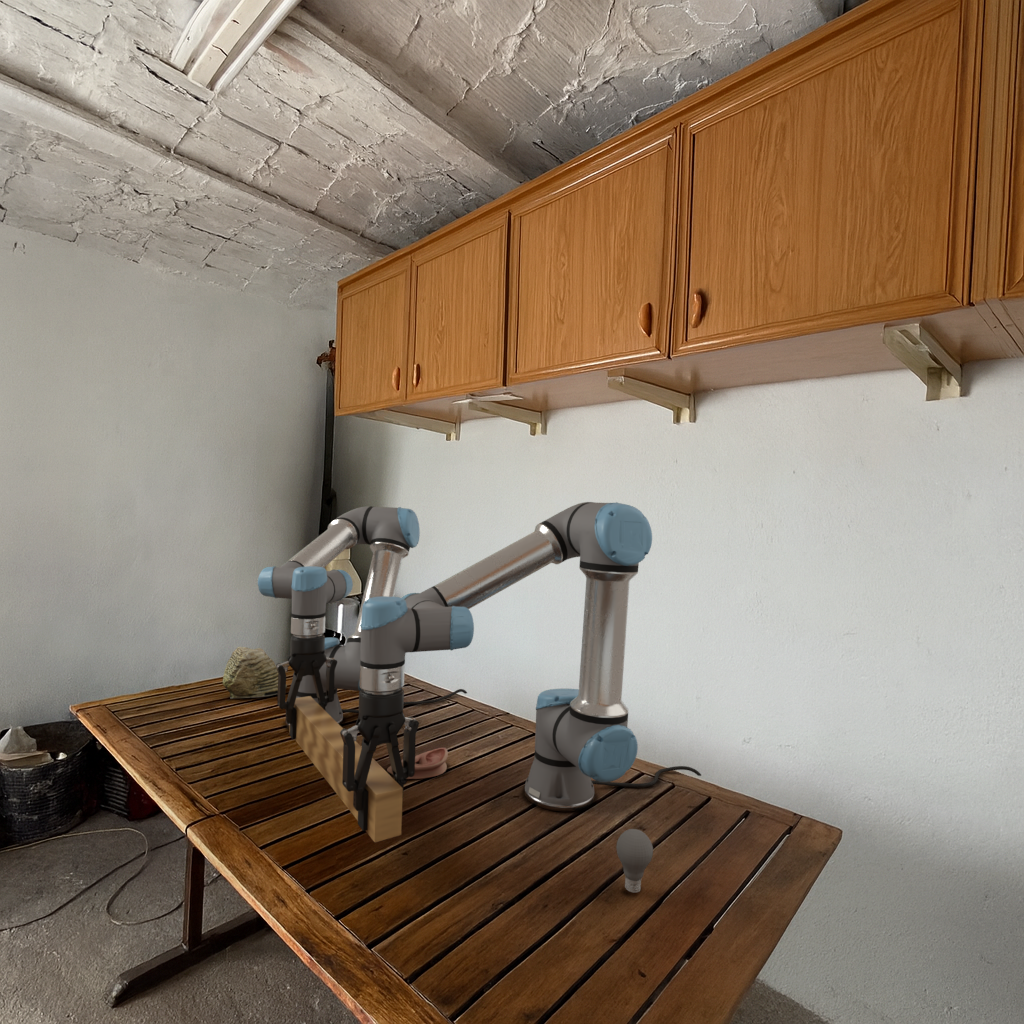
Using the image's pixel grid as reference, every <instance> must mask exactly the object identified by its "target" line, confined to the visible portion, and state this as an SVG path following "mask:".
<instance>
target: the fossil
mask: <svg viewBox="0 0 1024 1024" xmlns="http://www.w3.org/2000/svg"><path fill="white" fill-rule="evenodd" d="M222 676H223V677H222V685H223V687H224V688H225V690H226V691H228V693H229V698H230V699H250V698H264V697H271V696H275V695H278V671H277V669H276V663H275V662H274V660H273V659H272V658H271V657H270V656H269V655H268V654H267V653H266V652H265V650H264V649H263V648H260V647H258V648H251V647H247V646H246V647H245V646H238V647H237V648H236V649H235V650H233V651H232V653H231V656H230V657H229V659H228V660H227V663H226V666H225V668H224V671H223V675H222ZM287 687H288V686H287V684H286V688H287Z"/></svg>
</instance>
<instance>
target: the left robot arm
mask: <svg viewBox="0 0 1024 1024" xmlns="http://www.w3.org/2000/svg"><path fill="white" fill-rule="evenodd" d="M420 534H421V530H420V523H419V518H418V516H417V513H416V512H415V511H414V510H413V509H412V508H405V507H401V506H398V507H392V506H391V507H390V506H389V507H388V506H386V507H385V506H371V505H365V506H360V507H357V508H353V509H351V510H349V511H346V512H345V513H342V514H341V515H339V516H337V517H336V518H335V519H333V520H332V521H331V522H330V523H329V524H328V525H327V529H326V530H325V531H324V532H322V533H321V534H319V535H318V536H317V537H316V538H315V539H313V540H312V541H311V542H310V543H309V544H307V545H305V547H303V548H302V549H301V550H299V551H298V552H296V553H295V555H293V556H291V558H290V559H288V560H287V561H285V562H284V563H283V564H282V565H280V566H276V565H274V566H267V567H264V568H262V569H261V571H260V573H259V575H258V578H257V586H258V591H259V593H260V594H261V595H262V596H263V597H267V598H269V597H270V598H274V599H287V600H291V612H290V613H291V616H290V634H291V636H290V641H289V643H290V646H289V657H288V658H287V660H286V661H284V662H282V663H280V662H278V663H275V665H276V669H277V671H278V694H277V703H276V704H277V706H278V707H279V709H280V710H285V726H286V728H287V729H289V726H290V733H289V736H290V738H291V739H292V740H295V739H296V716H297V710H296V709H295V708H294V704H295V700H296V698H300V697H307V696H311V697H312V698H313V699H314V700H315V701H316V702H317V703H318V704H319V705H320V706H321V707H322V708H323V709H324V710H325V711H326V712H327V713H328V714H329V715H330V716H331V717H332V718H333V719H334V720H335V721H336V722H337V723H338V724H339V725H340V726H341V725H342V723H343V722H344V714H343V713H351V714H353V713H354V714H359V709H353V708H352V709H350V708H349V709H347V708H342V706H341V702H340V699H339V695H338V690H347V691H354V692H360V690H361V688H360V686H359V679H360V657H361V628H360V625H361V618H362V608H363V604H364V602H365V601H366V600H367V599H369V598H373V597H382V596H387V597H395V595H396V590H397V586H398V582H399V577H400V576H399V575H400V571H401V567H402V563H403V559H405V558H407V557H408V556H409V553H410V549H414V548H416V547H417V546H418V544H419V542H420ZM358 545H369V549H370V551H371V552H372V557H371V561H370V566H369V570H368V575H367V578H366V583H365V587H364V590H363V596H362V600H361V604H360V609H359V613H358V616H357V620H356V625H355V628H354V629H355V630H354V632H353V634H350V635H349V636H348V637H347V639H346V644H345V645H344V644H343V645H342V644H340V643H341V641H340V639H339V638H338V637H334V636H333V637H326V636H325V634H324V633H326V609H327V604H331V603H334V602H335V603H336V602H339V601H341V600H343V599H345V598H346V597H348V596H349V595H350V594H351V592H352V590H353V587H354V583H353V579H352V578H353V577H351V574H349V572H347V571H345V570H343V569H331V570H327V569H326V567H327V566H328V565H329V564H330V563H331V562H332V561H334V560H335V559H336V558H337V557H338V556H339V555H341V554H342V553H343V552H344V551H345V550H350V549H352V548H354V547H355V546H358ZM289 667H290V668H291V669H292V670H293V674H292V680H291V684H290V687H289V690H288V695H287V687H286V685H287V672H288V671H289ZM458 693H463V694H465V695H466V694H468V692H467V690H465V689H463V688H458V689H457V690H455V691H453V692H451V693H448V694H446V695H444V696H443V695H442V696H440V697H438V698H434V699H427V700H417V701H416V700H415V701H404V706H408V705H409V706H411V705H412V706H413V705H427V704H434V703H437V702H440V701H443V700H446V699H449V698H451V697H453V696H455V695H457V694H458ZM286 695H287V696H286ZM286 697H287V698H286Z"/></svg>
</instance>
